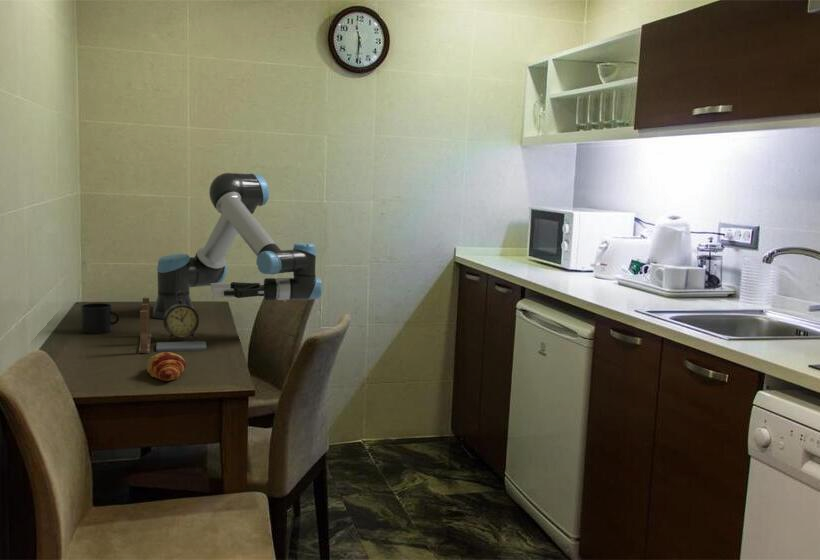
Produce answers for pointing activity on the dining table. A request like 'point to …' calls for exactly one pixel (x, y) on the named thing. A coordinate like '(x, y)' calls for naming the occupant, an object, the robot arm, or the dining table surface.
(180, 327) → the alarm clock
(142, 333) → the slalom posts
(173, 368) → the croissant
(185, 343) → the pad
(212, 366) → the dining table surface
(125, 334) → the dining table surface
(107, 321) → the mug
